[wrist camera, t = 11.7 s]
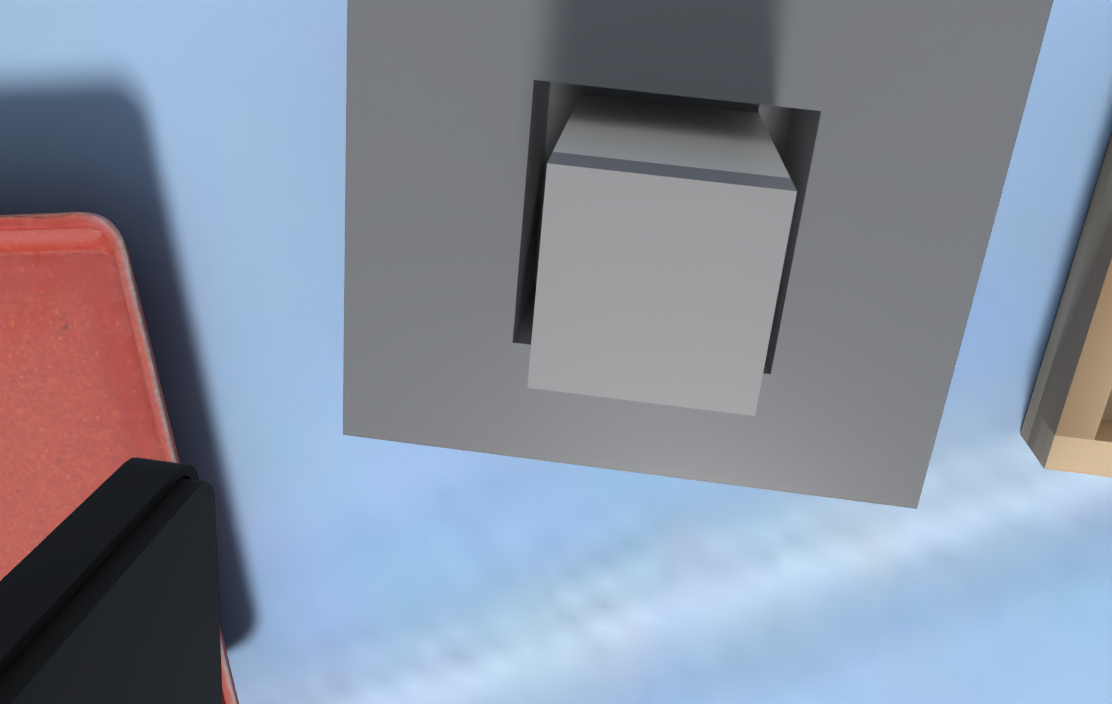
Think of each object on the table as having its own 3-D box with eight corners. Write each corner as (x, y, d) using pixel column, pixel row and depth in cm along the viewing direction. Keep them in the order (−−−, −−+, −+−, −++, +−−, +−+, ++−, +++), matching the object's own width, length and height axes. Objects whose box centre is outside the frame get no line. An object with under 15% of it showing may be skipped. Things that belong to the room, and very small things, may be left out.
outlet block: (985, -34, 24) (1059, -23, 20) (876, 416, 29) (917, 508, 25) (406, -91, 25) (348, -95, 21) (392, 355, 30) (342, 434, 25)
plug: (758, 112, 25) (796, 191, 18) (730, 281, 27) (754, 415, 20) (581, 93, 25) (546, 163, 18) (564, 261, 27) (527, 387, 20)
